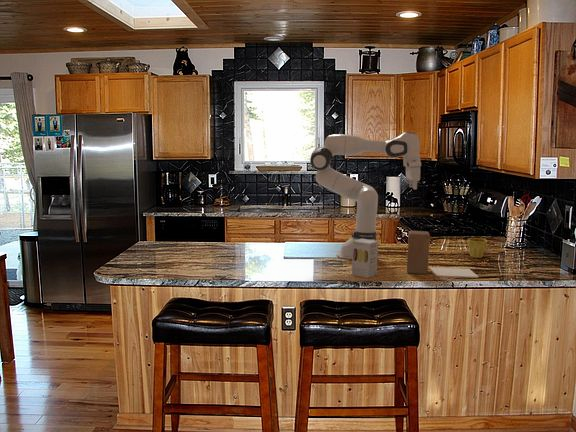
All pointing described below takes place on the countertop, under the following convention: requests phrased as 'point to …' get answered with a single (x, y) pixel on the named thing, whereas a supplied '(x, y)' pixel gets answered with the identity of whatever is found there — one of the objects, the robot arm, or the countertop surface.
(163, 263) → the countertop surface
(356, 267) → the supplement box
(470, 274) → the mat
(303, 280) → the countertop surface
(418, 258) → the wooden block
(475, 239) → the plant pot
